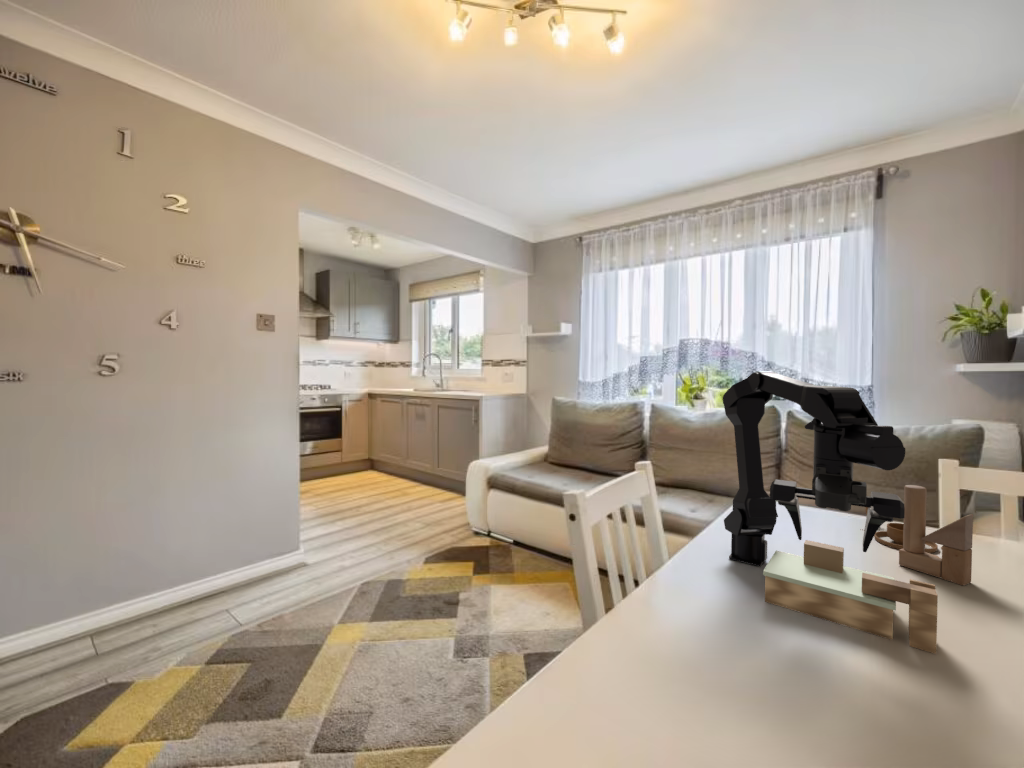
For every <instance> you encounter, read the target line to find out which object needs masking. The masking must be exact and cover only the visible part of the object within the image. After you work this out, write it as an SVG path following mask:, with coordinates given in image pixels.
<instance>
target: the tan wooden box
mask: <svg viewBox="0 0 1024 768" xmlns="http://www.w3.org/2000/svg"><path fill="white" fill-rule="evenodd" d="M764 579H765V580H764V583H765V584H764V585H765V586H764V602H766V603H768V604H772V605H775V606H778V607H782V608H785V609H788V610H791V611H795V612H799V613H802V614H804V615H807V616H812V617H815V618H818V619H822V620H824V621H829V622H832V623H834V624H837V625H841V626H844V627H848V628H851V629H854V630H859V631H861V632H864V633H868V634H872V635H874V636H878V637H880V638H881V637H882V638H883V639H888V640H891V641H892V640H893V639H894V638H893V637H894V610H891V609H888V608H884V607H880V606H876V605H873V604H869V603H865V602H861V601H858V600H854V599H850V598H846V597H843V596H839V595H835V594H832V593H828V592H824V591H820V590H817V589H813V588H809V587H805V586H802V585H798V584H794V583H790V582H787V581H783V580H779V579H775V578H772V577H768V576H764ZM909 584H914V585H918V586H922V587H927V588H931V589H935V590H936V584H935V583H933V584H932V583H929V582H925V581H919V580H916V579H911V578H910V579H909ZM938 597H939V595H938V594H935V593H931V592H926V591H922V590H918V589H914V588H911V599H910V605H908V627H907V628H908V629H907V631H908V633H907V634H908V644H909V647H911V648H914V649H918V650H922V651H925V652H927V653H930V654H935V655H937V639H938V637H937V636H938V635H937V633H938V632H937V630H938V602H939V601H938V599H939V598H938Z"/></svg>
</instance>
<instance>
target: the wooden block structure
mask: <svg viewBox="0 0 1024 768" xmlns="http://www.w3.org/2000/svg"><path fill="white" fill-rule="evenodd" d="M927 491H928V490H927V488H926V487H925V486H921V485H916V484H905V485H904V494H903V495H904V497H903V503H904V507H905V516H904V518H903V524H904V530H903V549H900V550H899V549H898V550H899V551H898V565H899V566H901V567H905V568H907V569H911V570H914V571H917V572H920V573H923V574H926V575H930V576H933V577H935V578H938V579H941V580H944V581H946V582H950V583H952V584H956V585H961V586H966V585H968V584H971V583H972V571H973V569H972V568H973V567H972V566H973V565H972V564H973V561H972V560H973V549H972V548H973V533H974V532H973V531H974V529H973V528H974V514H971V513H970V514H968V515H965V516H963V517H960V518H959V519H956V520H955V521H952V522H950V523H949V524H947V525H945V526H942V527H941V528H938V529H937V530H935V531H933V532H931V533H928V534H926V528H927ZM925 541H929V542H933V543H935V544H937V545H941V547H942V549H941V557H940V556H938V555H937V554H933V553H926V552H925V549H926V544H925Z"/></svg>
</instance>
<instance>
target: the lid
mask: <svg viewBox="0 0 1024 768" xmlns="http://www.w3.org/2000/svg"><path fill="white" fill-rule="evenodd" d="M844 553H845V549H844V547H842V546H836V545H832V544H828V543H821V542H819V541H812V540H808V539H805V541H804V543H803V556H801V555H797V554H793V553H788V552H786V551H780V550H775V551H774V553H773V555H772V556H771V558H770V559H769V560H768V562H767V564H766V566H765V567H764V569H763V572H762V575H763V576H764V577H765V576H768V577H772V578H775V579H779V580H783V581H787V582H790V583H794V584H798V585H802V586H805V587H809V588H813V589H817V590H820V591H824V592H828V593H832V594H835V595H839V596H843V597H846V598H850V599H854V600H858V601H861V602H865V603H869V604H873V605H876V606H880V607H884V608H888V609H891V610H893V611H894V612H895V611H897V601H893V600H889V599H885V598H881V597H877V596H873V595H870V594H866V593H862V573H867V574H871V575H875V576H879V577H884V578H888V579H892V580H896V579H895V577H892V576H888V575H885V574H880V573H875V572H871V571H866V570H862V569H858V568H854V567H850V566H845V565H844V563H845V562H844V560H845V559H844V557H845V554H844Z"/></svg>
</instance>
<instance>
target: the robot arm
mask: <svg viewBox="0 0 1024 768" xmlns="http://www.w3.org/2000/svg"><path fill="white" fill-rule="evenodd" d="M774 396H776V397H778V398H782V399H784V400H786V401H789V402H792V403H795V404H797V405H799V406H800V409H801V410H802V411H803V412H804V413H806V414H807V415H809V416H811V417H812V418H813V419H812V420H811V421H809V422H807V424H805V425H804V429H806V430H809V431H813V457H812V458H813V459H812V461H813V462H812V464H813V465H812V466H813V467H812V468H813V469H812V481H811V485H812V487H811V488H806V487H799V486H797V481H791V480H782V479H774V480H773V481H772V482H771V484H770V486H769V487H770V488H769V494H768V493H767V491H766V490H765V485H764V475H763V463H762V454H761V442H760V433H759V432H760V431H759V424H760V422H761V421H762V419H763V417H764V415H765V413H766V412H765V411H766V410H765V409H766V405H767V403H769V402H770V401H771V400H772V399H773V397H774ZM722 404H723V408H724V413H725V416H726V417H727V419H728V420H729V421H730V422H731V424H732V425H733V429H734V430H733V431H734V439H735V442H734V443H735V452H736V464H737V465H736V467H737V474H738V475H737V476H738V489H737V492H736V494H735V495H734V497H733V500H732V511H731V512H730V513H729V514H727V516H726V517H725V518H724V519H723V523H724V524H723V525H724V528H725V529H724V530H726V531H727V532H729V533H731V539H730V540H731V544H730V545H731V546H730V547H731V549H730V550H731V552H730V555H728V558H729V559H730V560H732V561H736V562H737V561H738V562H741V563H745V564H749V565H753V566H755V567H761V566H762V565H763V563H765V562H766V561H767V559H768V541H767V540H766V539H765V538H766V535H770V536H772V535H773V531H774V528H775V526H776V524H777V518H778V517H779V514H778V512H777V504H778V505H779V506H783V507H785V509H786V511H787V512H788V514H789V517H790V518H791V520H792V523H793V527H794V530H795V533H796V536H797V537H798V538H797V539H798V540H799V541H802V539H803V538H802V537H803V536H802V535H803V528H802V520H801V511H800V502H799V498H800V499H806V500H814V505H815V506H816V507H818V508H821V509H826V508H827V509H835V510H839V511H842V512H849V511H851V510H852V506H854V507H855V506H856V507H862V508H866V507H869V508H868V511H867V514H866V516H865V517H866V518H865V524H864V525H865V526H864V529H863V536H862V551H863V553H867V551H868V550H869V547H870V545H871V543H872V541H873V539H874V538H875V537H874V535H875V533H876V532H878V530H879V529H880V528H881V526H882V525H884V523H886V522H887V523H894V519H902V520H904V516H905V507H904V500H902V498H901V497H900V496H899V495H898V494H897V493H896V494H895V493H890V492H889V493H888V492H880V491H872V490H871V491H870V496H869V495H867V493H868V492H867V488H868V487H867V482H866V481H858V480H854V464H857V465H862V466H867V467H871V468H875V469H878V470H883V471H893V470H895V469H897V468H899V466H901V465H902V463H903V461H904V459H905V457H906V456H905V455H906V447H905V446H904V443H903V441H902V440H901V439H900V437H899V436H897V435H896V434H894V426H892V425H878V422H877V421H876V420H875V417H874V416H873V415H872V413H871V412H870V410H869V408H868V406H867V405H866V404H865V402H864V401H863V399H862V397H861V395H860V391H859V390H857V389H855V388H853V387H850V386H836V385H835V386H831V385H816V384H813V383H809V382H807V381H803V380H799V379H796V378H793V377H790V376H785V375H782V374H780V373H778V372H775V371H773V370H772V371H770V370H769V371H767V370H766V371H764V370H763V371H762V370H761V371H757V370H756V371H755V372H752V373H751V374H749V376H748V377H747V378H743V379H742V380H741V381H738V382H736V383H734V384H732V385H731V387H729V388H727V390H726V391H725V392H724V394H723V397H722Z"/></svg>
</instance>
